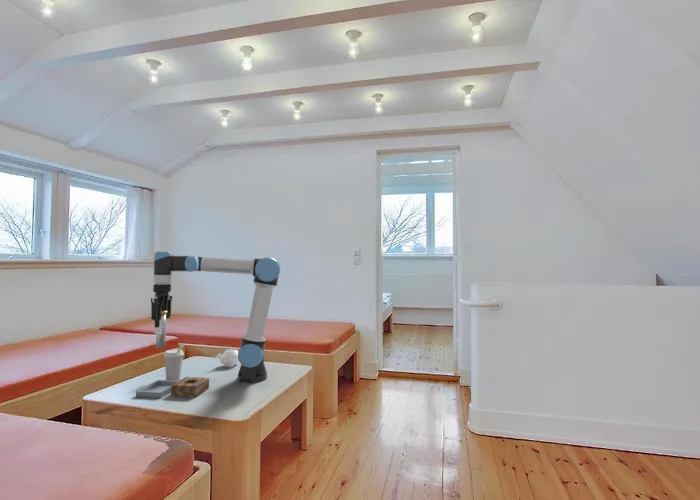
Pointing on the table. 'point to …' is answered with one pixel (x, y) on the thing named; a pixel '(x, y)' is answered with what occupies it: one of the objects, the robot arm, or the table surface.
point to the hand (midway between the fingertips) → (160, 332)
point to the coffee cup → (173, 364)
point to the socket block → (190, 387)
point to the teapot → (229, 357)
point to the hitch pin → (161, 337)
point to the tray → (156, 389)
